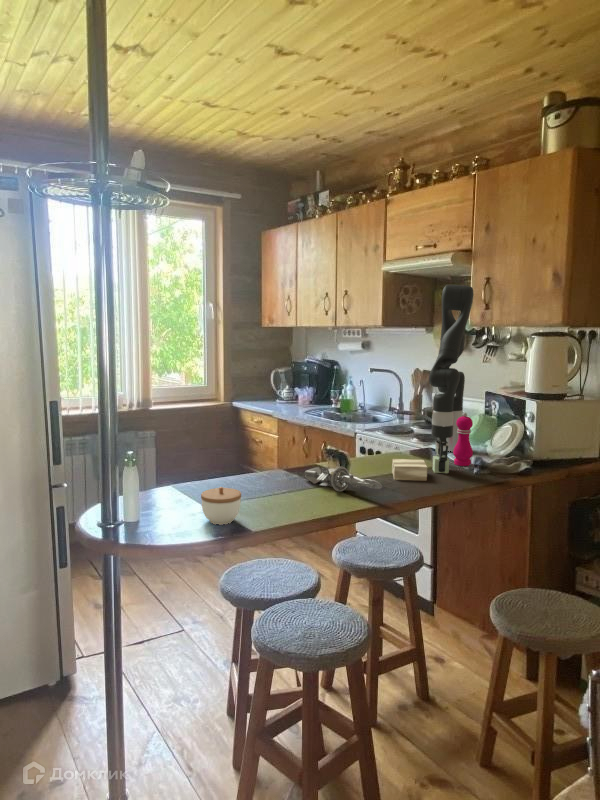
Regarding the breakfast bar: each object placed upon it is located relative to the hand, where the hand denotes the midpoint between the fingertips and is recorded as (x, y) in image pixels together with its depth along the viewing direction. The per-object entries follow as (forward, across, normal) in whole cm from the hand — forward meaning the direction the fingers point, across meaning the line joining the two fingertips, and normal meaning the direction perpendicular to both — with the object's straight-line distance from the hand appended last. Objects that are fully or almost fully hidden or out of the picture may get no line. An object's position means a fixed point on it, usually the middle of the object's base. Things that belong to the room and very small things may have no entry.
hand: (440, 469), depth 217 cm
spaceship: (+1, +30, -36) cm, 46 cm away
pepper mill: (+1, -12, +10) cm, 16 cm away
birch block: (+1, +8, -12) cm, 15 cm away
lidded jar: (+1, +62, -67) cm, 91 cm away
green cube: (+1, 0, 0) cm, 1 cm away
